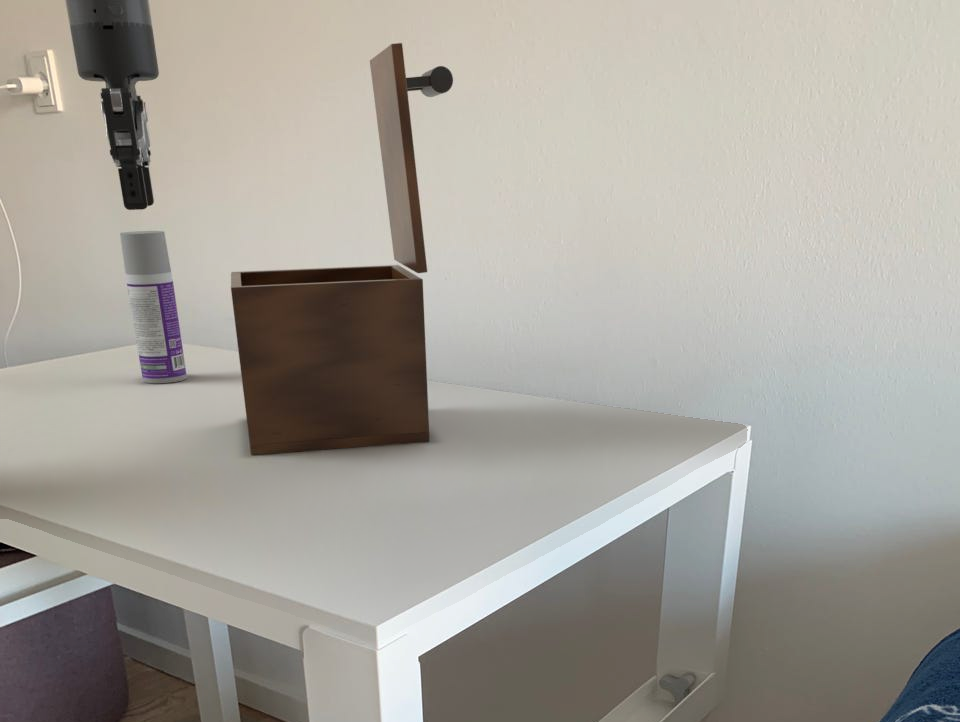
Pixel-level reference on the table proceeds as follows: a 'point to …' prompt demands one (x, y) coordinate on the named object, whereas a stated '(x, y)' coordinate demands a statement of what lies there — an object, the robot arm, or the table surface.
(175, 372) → the container
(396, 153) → the lid
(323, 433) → the chest
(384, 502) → the table surface
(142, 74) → the robot arm
